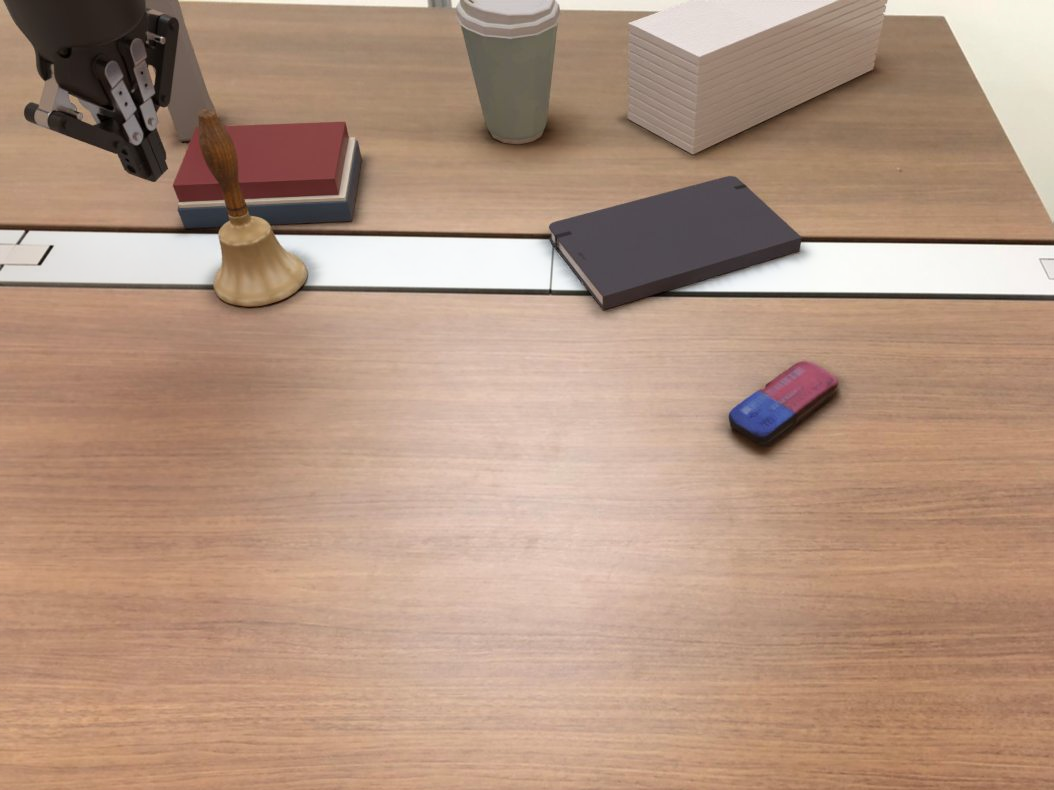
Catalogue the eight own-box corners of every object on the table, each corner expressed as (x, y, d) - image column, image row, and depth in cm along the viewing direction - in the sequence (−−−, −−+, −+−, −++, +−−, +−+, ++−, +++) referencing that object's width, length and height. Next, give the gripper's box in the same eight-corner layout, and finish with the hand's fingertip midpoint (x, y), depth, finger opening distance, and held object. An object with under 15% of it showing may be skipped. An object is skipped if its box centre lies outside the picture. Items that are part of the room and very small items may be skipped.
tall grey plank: (218, 117, 105) (132, -139, 87) (216, 139, 102) (127, -122, 84) (183, 121, 105) (89, -136, 86) (180, 143, 102) (83, -119, 83)
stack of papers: (808, 41, 122) (821, -48, 114) (873, 69, 117) (892, -22, 109) (627, 119, 107) (628, 22, 99) (692, 155, 102) (699, 56, 94)
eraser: (805, 366, 79) (809, 350, 78) (844, 389, 77) (849, 373, 76) (718, 429, 74) (721, 412, 72) (758, 456, 72) (761, 439, 70)
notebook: (602, 310, 84) (800, 250, 90) (602, 296, 82) (802, 237, 89) (546, 237, 91) (732, 187, 98) (545, 223, 90) (734, 173, 97)
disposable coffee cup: (531, 100, 110) (522, -37, 99) (584, 137, 104) (581, -4, 93) (453, 125, 105) (434, -15, 94) (503, 166, 100) (489, 22, 89)
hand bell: (219, 258, 88) (156, 93, 76) (309, 249, 89) (262, 86, 77) (209, 312, 82) (140, 143, 70) (305, 302, 84) (254, 135, 72)
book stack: (352, 221, 92) (342, 181, 89) (184, 229, 91) (168, 188, 88) (362, 159, 100) (353, 120, 97) (208, 165, 99) (194, 125, 95)
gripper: (67, -138, 57) (159, 102, 71) (-94, -25, 50) (44, 214, 65) (178, -99, 56) (247, 135, 71) (29, 20, 49) (140, 250, 64)
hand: (150, 172), depth 68 cm, fingers closed
